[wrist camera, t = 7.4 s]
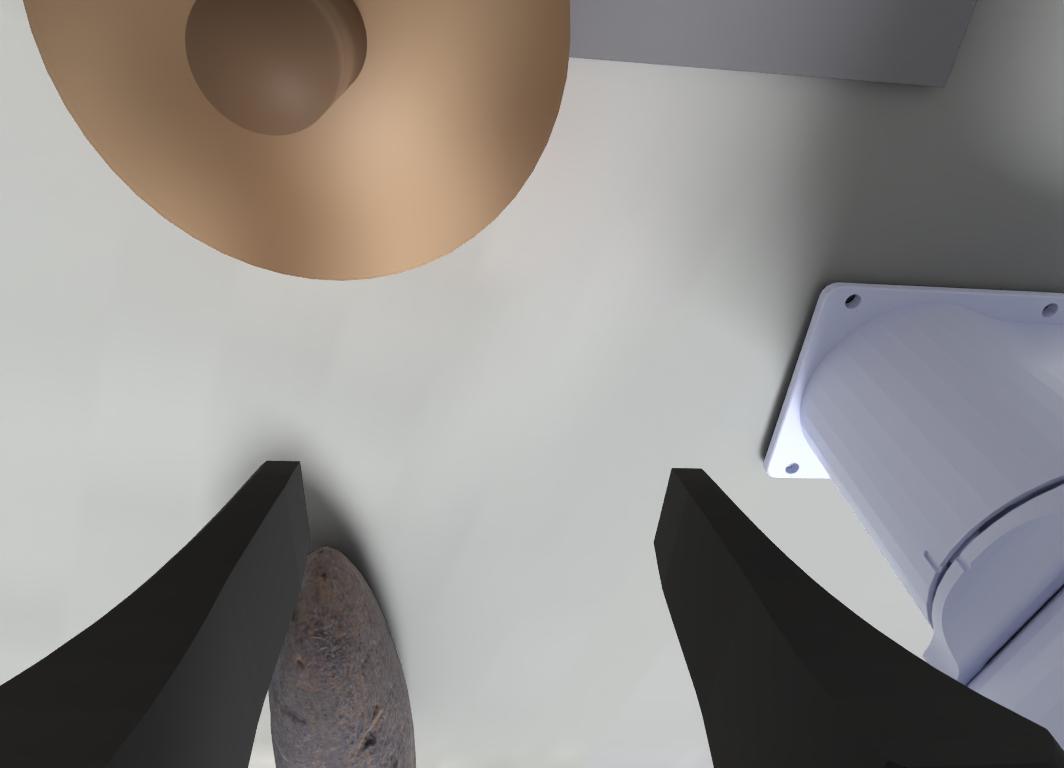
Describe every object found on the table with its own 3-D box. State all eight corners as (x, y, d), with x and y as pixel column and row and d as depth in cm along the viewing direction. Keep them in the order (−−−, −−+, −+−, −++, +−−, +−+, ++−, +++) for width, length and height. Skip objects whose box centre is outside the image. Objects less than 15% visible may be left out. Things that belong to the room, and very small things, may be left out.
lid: (615, -244, 13) (671, -324, 9) (526, 290, 18) (539, 375, 15) (-32, -394, 11) (-283, -565, 7) (91, 240, 17) (-17, 320, 13)
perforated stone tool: (265, 510, 26) (204, 671, 20) (403, 506, 26) (383, 664, 21) (318, 732, 34) (285, 893, 28) (423, 727, 35) (413, 885, 29)
